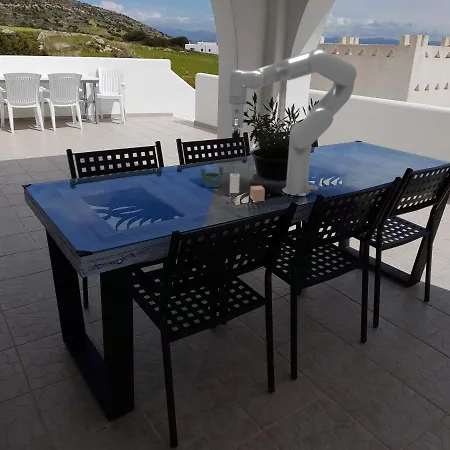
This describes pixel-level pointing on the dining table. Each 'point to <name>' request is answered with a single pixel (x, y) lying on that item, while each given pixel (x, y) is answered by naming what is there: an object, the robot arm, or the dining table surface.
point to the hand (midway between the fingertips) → (235, 140)
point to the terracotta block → (257, 193)
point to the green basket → (212, 176)
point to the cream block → (234, 183)
